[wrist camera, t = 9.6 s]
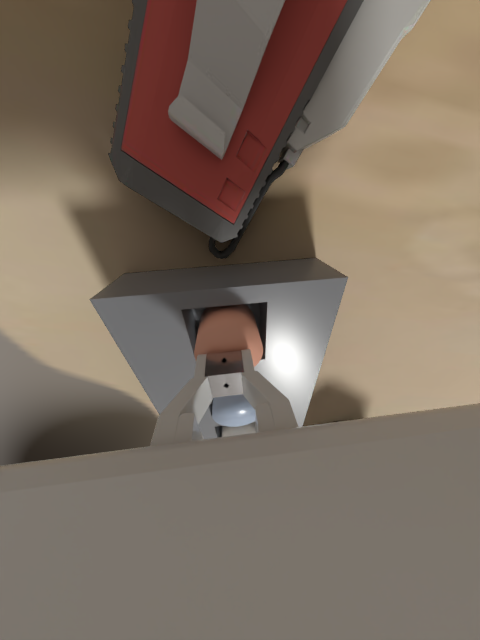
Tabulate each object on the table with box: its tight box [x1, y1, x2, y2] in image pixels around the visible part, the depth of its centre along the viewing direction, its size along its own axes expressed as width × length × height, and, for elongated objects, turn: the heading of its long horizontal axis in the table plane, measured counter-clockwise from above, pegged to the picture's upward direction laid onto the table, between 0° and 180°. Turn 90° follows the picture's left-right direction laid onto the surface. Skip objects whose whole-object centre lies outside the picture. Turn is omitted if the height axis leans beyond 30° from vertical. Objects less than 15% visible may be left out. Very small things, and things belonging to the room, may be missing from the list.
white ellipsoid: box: [222, 422, 256, 437], centre depth 20 cm, size 4×4×3 cm
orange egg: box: [194, 304, 263, 367], centre depth 11 cm, size 4×4×3 cm
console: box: [90, 258, 348, 439], centre depth 17 cm, size 14×21×4 cm, turn 3°
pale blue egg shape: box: [212, 394, 255, 427], centre depth 16 cm, size 4×4×3 cm
